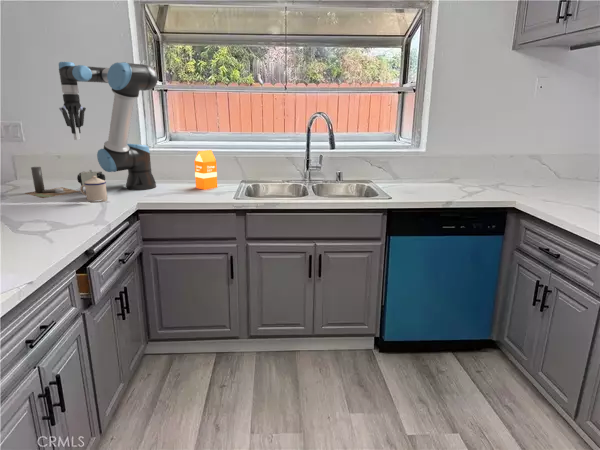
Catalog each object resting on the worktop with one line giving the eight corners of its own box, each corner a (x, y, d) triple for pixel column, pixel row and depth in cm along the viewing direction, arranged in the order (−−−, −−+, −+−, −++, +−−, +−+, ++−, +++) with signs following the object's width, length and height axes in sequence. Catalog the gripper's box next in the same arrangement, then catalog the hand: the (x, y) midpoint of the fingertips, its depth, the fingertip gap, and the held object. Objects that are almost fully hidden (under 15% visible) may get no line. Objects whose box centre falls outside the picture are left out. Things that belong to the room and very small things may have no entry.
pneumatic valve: (103, 194, 204) (100, 170, 200) (79, 195, 203) (75, 170, 199) (108, 192, 209) (105, 169, 205) (84, 192, 208) (81, 169, 205)
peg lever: (65, 191, 205) (61, 166, 201) (61, 192, 201) (57, 167, 197) (37, 191, 203) (33, 166, 200) (33, 193, 199) (29, 167, 196)
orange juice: (195, 187, 224) (193, 150, 218) (208, 185, 230) (207, 149, 224) (204, 189, 219) (202, 151, 213) (217, 187, 225) (216, 150, 219)
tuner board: (81, 194, 205) (81, 191, 205) (43, 200, 191) (42, 197, 190) (62, 189, 215) (61, 186, 214) (24, 195, 200) (24, 192, 200)
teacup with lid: (112, 198, 196) (109, 174, 193) (101, 203, 187) (97, 178, 184) (88, 197, 197) (84, 173, 194) (76, 202, 188) (72, 177, 185)
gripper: (79, 94, 222) (85, 138, 228) (53, 93, 211) (61, 140, 218) (87, 94, 218) (92, 139, 224) (61, 93, 207) (68, 141, 214)
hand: (77, 139), depth 221 cm, fingers closed
